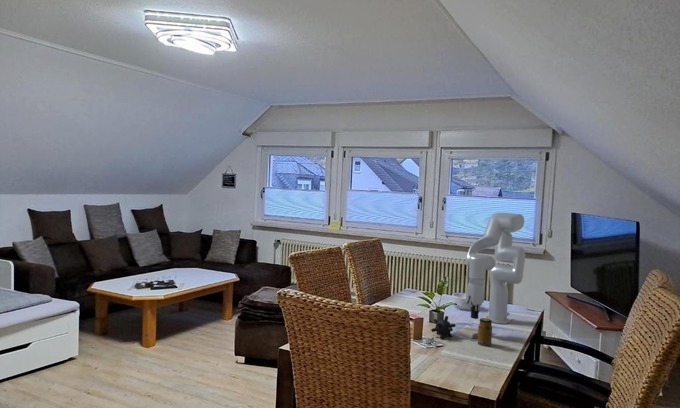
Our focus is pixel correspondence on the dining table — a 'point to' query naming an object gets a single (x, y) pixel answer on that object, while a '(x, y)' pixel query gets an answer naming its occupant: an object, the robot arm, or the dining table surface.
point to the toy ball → (443, 327)
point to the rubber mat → (467, 337)
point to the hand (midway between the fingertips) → (474, 318)
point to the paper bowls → (460, 301)
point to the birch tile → (468, 332)
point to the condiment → (485, 332)
